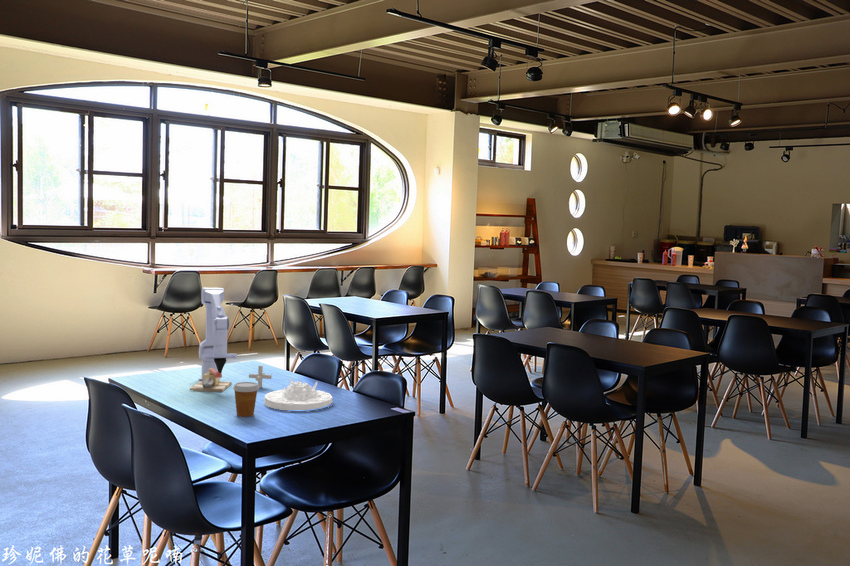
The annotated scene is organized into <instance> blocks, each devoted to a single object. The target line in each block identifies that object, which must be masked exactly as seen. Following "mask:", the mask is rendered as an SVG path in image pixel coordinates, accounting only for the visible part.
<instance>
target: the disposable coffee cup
mask: <svg viewBox="0 0 850 566" xmlns="http://www.w3.org/2000/svg"><path fill="white" fill-rule="evenodd" d="M232 388H233V390H234V400H235V401H234V402H235V409H236V410H235V411H236V416H238V417H241V418H249V417H252V416H254V414H255V409H256V408H255V407H256V403H257V395H258V391H259V389H260V388H259V387H258V382H257V383H256V382H253V381H252V382H251V381H240V382H236V383H235V384H234V386H233V387H232ZM248 416H249V417H248Z"/></svg>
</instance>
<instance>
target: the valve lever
mask: <svg viewBox="0 0 850 566" xmlns="http://www.w3.org/2000/svg"><path fill="white" fill-rule="evenodd" d="M209 371H210V372H211V373H212V374H213V376H214V377H215V378H219V377H220V378H223V374H222V373H220V372H217V371H216V370H215V369H214V368H209Z"/></svg>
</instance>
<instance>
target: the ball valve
mask: <svg viewBox="0 0 850 566" xmlns="http://www.w3.org/2000/svg"><path fill="white" fill-rule="evenodd" d="M220 379H221V377H219V378H215V377H214V376H213V374H212V373H211V372H210V371H209V372H207V373H205V374H204V375H203V380H202V381H203V382H202V386H203V388H212V386H214V387H216V386H217V385H218V384H219V382H220Z"/></svg>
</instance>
